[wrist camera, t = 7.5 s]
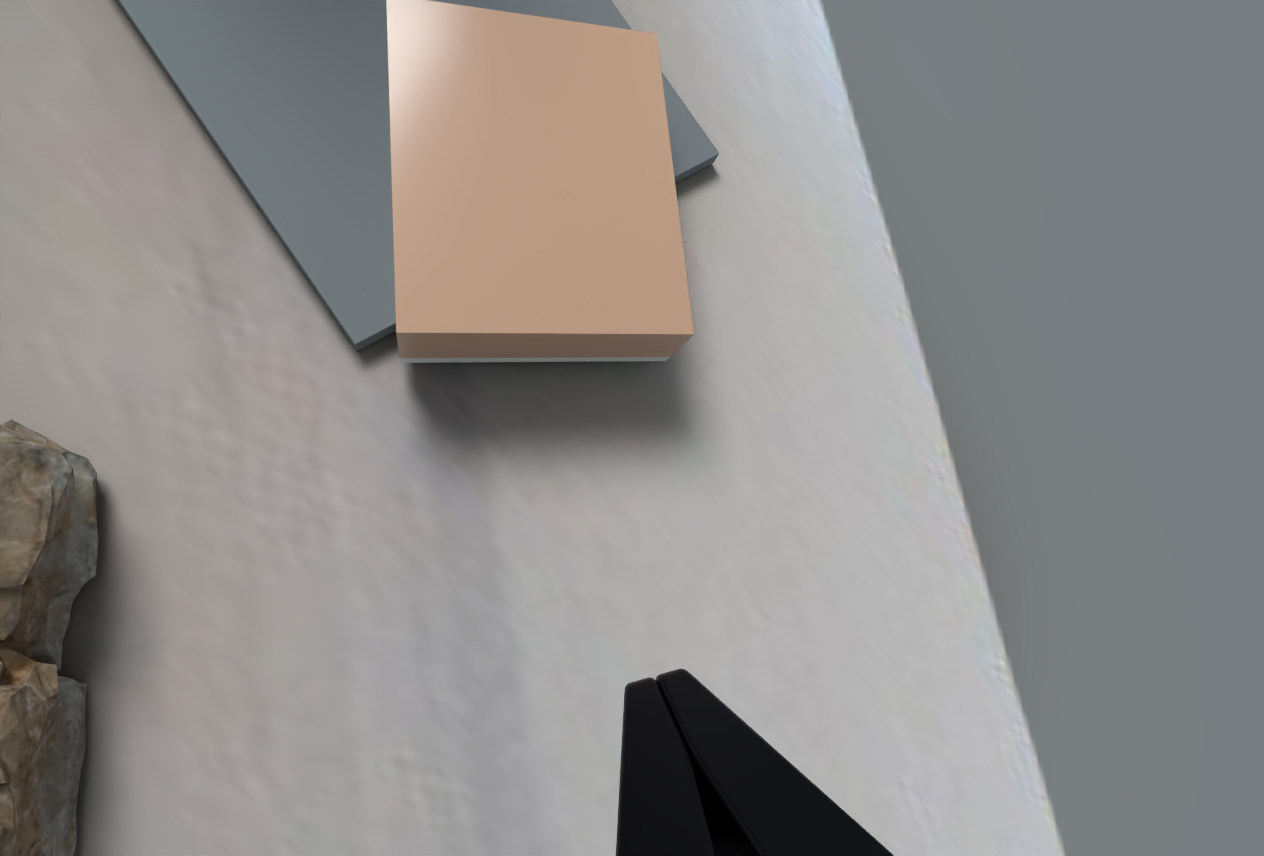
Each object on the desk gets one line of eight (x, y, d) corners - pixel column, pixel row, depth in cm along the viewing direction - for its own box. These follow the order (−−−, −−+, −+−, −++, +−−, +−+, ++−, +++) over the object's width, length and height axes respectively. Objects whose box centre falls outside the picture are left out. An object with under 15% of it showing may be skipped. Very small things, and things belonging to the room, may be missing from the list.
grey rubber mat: (712, 163, 24) (719, 153, 24) (357, 351, 19) (355, 344, 19) (462, -190, 25) (463, -208, 24) (51, -95, 20) (40, -115, 19)
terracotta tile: (693, 334, 19) (656, 33, 21) (396, 332, 17) (386, -6, 19) (666, 361, 21) (634, 86, 24) (400, 362, 19) (390, 57, 21)
